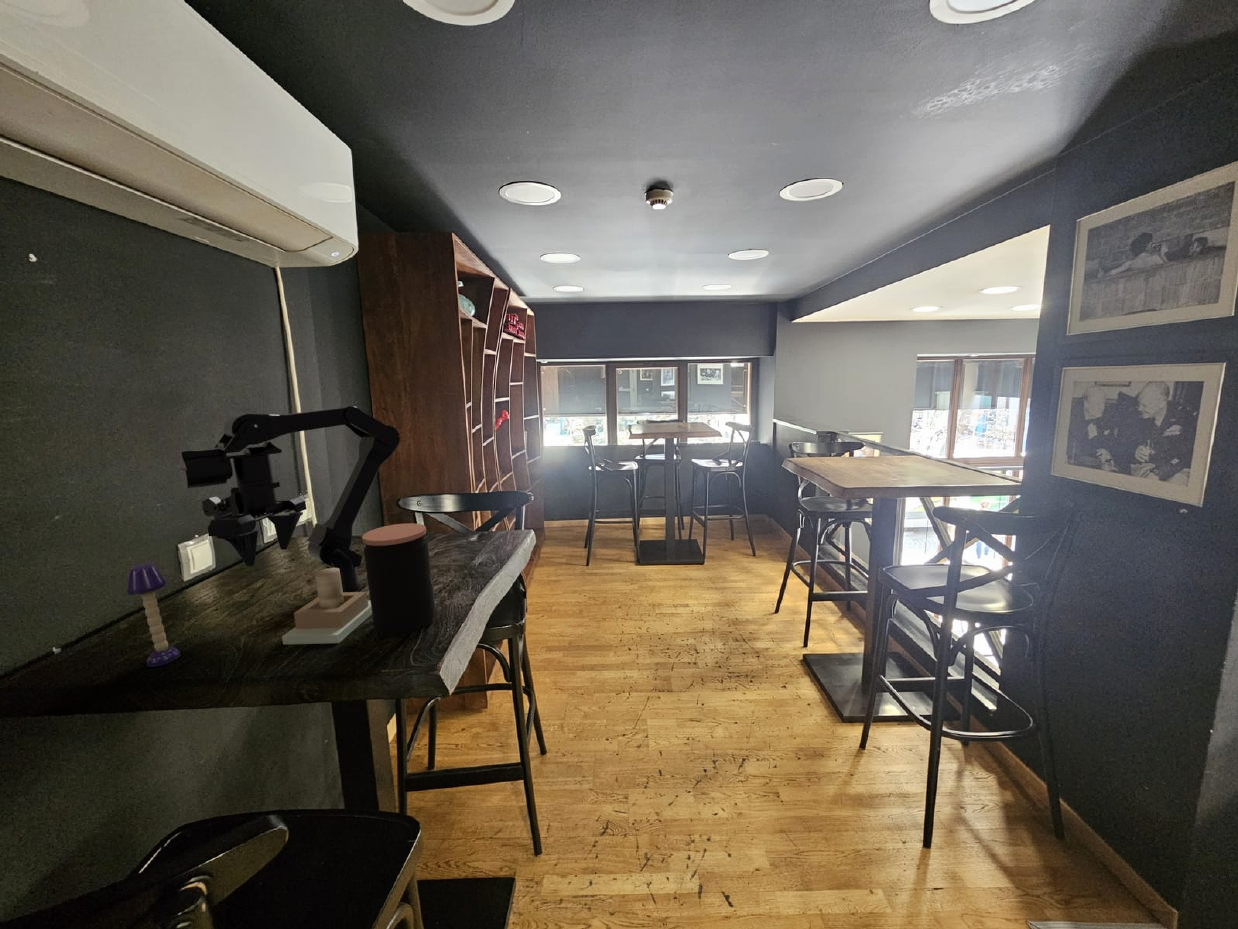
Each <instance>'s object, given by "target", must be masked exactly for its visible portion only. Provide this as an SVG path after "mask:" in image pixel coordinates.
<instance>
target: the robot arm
mask: <svg viewBox="0 0 1238 929" xmlns="http://www.w3.org/2000/svg"><path fill="white" fill-rule="evenodd" d="M336 426H337V427H338V426H345V427H346V428H347V429H349V430H350V431H351V432H352V433H353V434H354V435H356V436H357V437H359V438H360V441H359V446H358V458H357V459H358V460H357V461H356V464H355V466H354V468H353V470H352V472H351V474H350V476H349V478H348V480H347V482H346V484H345V487H344V488H343V491H342V493H341V495H340V497H339V499H338V501H337V503H336V505H335V507H334V509H333V511H332V513H331V515H330V517H329V518H328V519H327V520H326V521H325V522H324V523H323V524H321V523H318V522H316V523H315V524H314V526H313V530H312V532H311V534H310V536H309V537H308V538H307V539H306V541H307V542H308V544H307V550H308V552H309V555H310V556H311V557H312V558H313V559H316V560H317V561H319V562H320V563H321V565H323V566H325V569H328V568H339V569H340V576H341V583H342V590H343V592H361V591H362V590H363V588H365V587H367V583H365V582H364V583H362V582H361V583H360V579H359V578H360V577H359V572H358V567H360V566H361V563H362V559H363V556H362V555H361V554H359V553H357V552H356V551H353V550H352V549H351V545H352V541H353V526H354V523H355V521H356V519H357V517H358V514H359V512H360V511H361V509H362V506H363V503H364V502H365V500H366V497H367V495H368V493H369V492H370V489H371V487H372V484H373V483H374V480H375V478H376V476H377V474H378V472H379V469H380V467H381V466H382V465H383V464H384V463H386V461H387V460H388V459H390V457H392V455H393V454H394V452H395V451H396V449H397V448H398V446H399V445H400V443H401V436H400V432H399V431H398V429H397V428H395V426H392V425H389V424H388V425H386V424H385V423H383V422H382V421H380V420H378V419H376V418H375V417H373V416H371V415H369V414H367V413H365V412H364V411H362V410H361V409H360V408H358V406H354V405H342V406H339V407H334V408H325V409H318V410H317V409H316V410H309V411H302V412H292V413H285V414H264V413H263V414H262V413H237V414H233V415H231V416H229V417H228V418H227V420H226V421H225V422H224V425H223V431H224V432H223V434H222V435H221V436H220V438H219V440H218V441H217V443H216V444H215V445H214V447H213V448H208V449H197V450H192V449H189V450H188V449H186V450H185V449H184V450H179V468H178V472H179V477H180V481H181V484H182V486H183V488H184V490H192V489H199V488H204V487H205V488H206V487H213V486H219V485H225V484H227V482H228V480H231V478H233V473H234V477H235V482H236V486H233V487H231V489H230V496H228V497H225V498H222V499H220V498H219V497H218V496H212V497H209V498H206V499H204V500H202V501H201V505H202V506H201V508H202V512H203V515H205V516H206V517H208V518H210V517H213V519H211V520H210V521H209V522H208V523H207V524H206V529H207V534H208V535H207V536H208V537H210V538H211V537H215V538H216V539H217V540H223V541H226V542H228V543H229V544H230V545H231V546H232V547H233V548H234V550H235V551H236V552H237V554H238V555H239V557H240V558H241V559H242V561H243V563H244V564H245V565H246V567H253V566H254V565H255V561H256V555H257V543H258V535H259V530H258V529H257V530H255V528H256V526H257V523H256V522H259V521H262V520H265V519H267V520H269V521H270V522H271V523H272V524H273V526H274V529H275V530H274V531H275V533H276V538H277V542H278V545H279V548H280V550H282V551H283V550H285V551H286V550H287V549H288V548H289V545H290V542H291V541H292V540H291V539H292V538H293V535H294V532H295V530H296V527H297V525H298V522H300V521H299V520H300V519H301V516H303V514H304V512H303V511H306V510H307V502H306V500H305V499H304V498H303V497H301V496H285V497H283V496H282V497H277V493H276V488H279V487H281V483H280V481H274V476H273V475H274V474H273V468H272V463H271V462H272V461H271V457H270V455H275V454H281V453H282V452H283V450H282V449H281V448H278V447H277V446H276V445H274V444H273V442H271V441H272V440H274V439H277V438H279V437H282V436H285V435H288V434H292V433H297V432H305V431H309V430H310V431H311V430H312V431H313V430H317V429H319V430H320V429H324V428H331V427H336ZM259 444H263V445H259ZM250 445H251V446H250ZM252 445H255V446H252ZM256 445H257V446H256ZM258 445H259V446H258ZM249 446H250V447H249ZM241 451H243V452H241ZM231 460H232V462H231ZM232 465H233V466H232ZM233 471H234V472H233Z"/></svg>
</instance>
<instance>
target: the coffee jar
mask: <svg viewBox="0 0 1238 929" xmlns="http://www.w3.org/2000/svg"><path fill="white" fill-rule="evenodd" d="M426 533H427V526H425V525H424V524H421V523H412V522H411V523H397V524H396V523H395V524H391V525H386V526H385V525H384V526H380V527H378V528H375V529H371V530H369V531H367V532H365V533H364V534H362V536H361V538H362V542H363V544H365V546H364V548H363V555H364V562H365V570H366V579H367V586H368V593H369V598H370V599H369V600H370V601H371V609H372V614H371V615H372V616H371V617H372V623H373V627H374V629H375V630H376V632H378V633H379V634H381V635H382V636H387V637H401V636H407V635H411V634H415V633H417V632H419V631H421V630H422V631H423V630H424V629H425V628H427V627H428V626H429V625H430V624H431V623H432V622H433V619H434V618H435V615H436V603H435V594H434V586H433V577H432V568H431V560H430V559H431V558H430V549H429V542H428V539H427V537H425V534H426ZM426 626H427V627H426Z"/></svg>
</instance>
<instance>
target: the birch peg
mask: <svg viewBox="0 0 1238 929" xmlns="http://www.w3.org/2000/svg"><path fill="white" fill-rule="evenodd" d="M314 579H315V585H316V586H315V587H316V592H317V597H318V599H319V606H320V609H334V608H339V607H340V606H341V605H343V604H344V597H343V590H342V583H341V576H340V569H339V568H328V569H326V568H324V569H321V570H318V571H317V572H315V573H314Z"/></svg>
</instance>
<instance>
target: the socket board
mask: <svg viewBox="0 0 1238 929" xmlns="http://www.w3.org/2000/svg"><path fill="white" fill-rule="evenodd" d="M343 597H344V604H343V605H341V606H340V607H339V608H334V609H320V606H319V599H318V596H316V598H314V599H313V600H311V601H310V602H309V603H307V604H305V605H303V607H300V609H298V610H295V612H294V613H293V616H294V622H295V626H294V627H293V628H292V629H291V630H289V631H287V632H286V633H285V634H283V635H282V636H281V639H282V644H283V645H310V644H311V645H312V644H313V645H314V644H315V645H316V644H340V642H342V641H343V640H344V639H345V638H347V637H348V636H349V635H350V634H351V633H352V632H353V631H354V630H356V629H357V628H358V627H359V626H360V625H361V624H362V623H363V622H365V620H367V619H368V618H369V617H370V616H371V615H372V609H371V601H370V599H368V592H367V591H358V592H343Z"/></svg>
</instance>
